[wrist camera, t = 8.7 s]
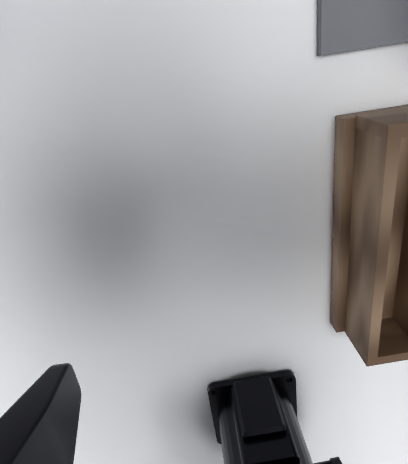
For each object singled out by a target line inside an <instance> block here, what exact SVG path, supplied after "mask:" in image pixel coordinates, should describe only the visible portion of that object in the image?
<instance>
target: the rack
mask: <svg viewBox="0 0 408 464" xmlns="http://www.w3.org/2000/svg"><path fill="white" fill-rule="evenodd" d="M330 323H331V324H332V326H333V328H334V329H335V331H336V332H342V331H345V333H346V334H347V336H348V337H349V339H350V341H351V342H352V344H353V345H354V347H355V348H356V350H357V352H358V353H359V355H360V356H361V358H362V359H363V361H364V363H365V364H366V366H373V365H379V364H384V363H390V362H396V361H402V360H408V105H403V106H396V107H390V108H384V109H377V110H371V111H365V112H358V113H352V114H346V115H339V116H336V130H335V168H334V207H333V245H332V283H331V322H330Z"/></svg>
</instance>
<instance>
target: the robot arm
mask: <svg viewBox="0 0 408 464" xmlns="http://www.w3.org/2000/svg"><path fill="white" fill-rule="evenodd" d="M214 390H215V391H214ZM208 395H209V400H210V406H211V411H212V416H213V421H214V427H215V432H216V437H217V441H218V443H220V444H222V450H223V458H224V464H313V463H312V460H311V457H310V454H309V451H308V449H307V446H306V443H305V440H304V437H303V434H302V432H301V429H300V426H299V423H298V420H297V402H296V378H295V375H294V373H293V372H292V371H284V372H278V373H272V374H266V375H261V376H255V377H249V378H243V379H237V380H231V381H225V382H219V383H213V384H211V385H209V387H208ZM80 403H81V389H80V386H79V383H78V380H77V378H76V375H75V372H74V370H73V367H72V365H71V364H69V363H64V364H58V365H53V366H51V367H50V368H48V369H47V370H46V371H45V372H44V374H43V375H42V376H41V377H40V378H39V379H38V380H37V381H36V382H35V383H34V384H33V385H32V386H31V387H30V388H29V389H28V390H27V391H26V392H25V393H24V394H23V395H22V396H21V397H20V398H19V399H18V400H17V401H16V402H15V403H14V404H13V405H12V406H11V407H10V408H9V409H8V410H7V411H6V412H5V413H4V415H3V416H2V417H1V418H0V464H73V461H74V454H75V445H76V437H77V429H78V420H79V412H80ZM314 464H342V462H341V461H340V459H339V457H335V458H330V460H328V461H324V462H319V463H314Z"/></svg>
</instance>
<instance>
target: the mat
mask: <svg viewBox="0 0 408 464" xmlns="http://www.w3.org/2000/svg"><path fill="white" fill-rule="evenodd" d="M407 42H408V0H318V18H317V56H323V55H330V54H336V53H343V52H349V51H356V50H362V49H369V48H375V47H381V46H388V45H394V44H401V43H407Z"/></svg>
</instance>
